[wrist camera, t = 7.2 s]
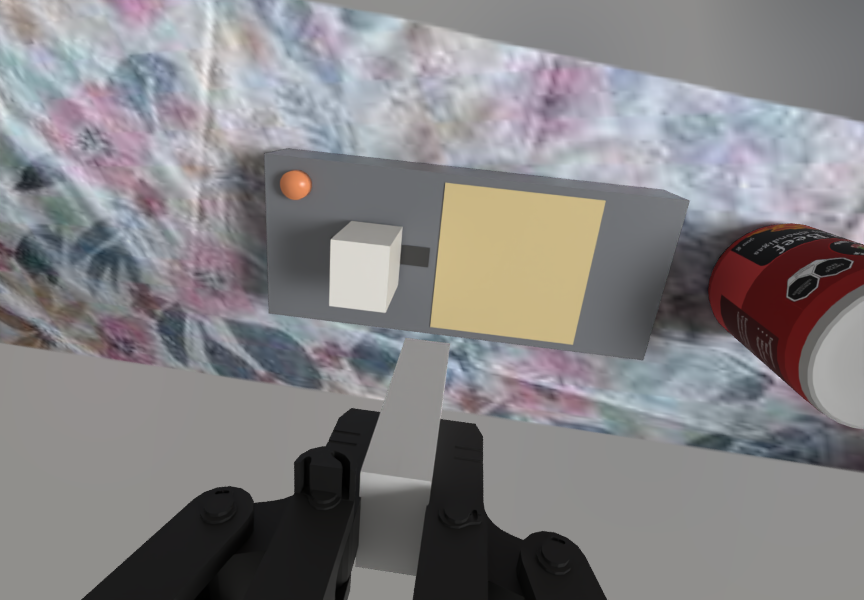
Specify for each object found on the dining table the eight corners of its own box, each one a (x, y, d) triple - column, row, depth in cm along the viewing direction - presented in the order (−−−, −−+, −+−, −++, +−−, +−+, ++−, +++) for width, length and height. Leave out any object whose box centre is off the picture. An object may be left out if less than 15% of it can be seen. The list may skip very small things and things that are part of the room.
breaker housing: (663, 189, 31) (695, 203, 26) (625, 333, 34) (647, 366, 30) (289, 148, 32) (258, 154, 27) (290, 291, 35) (263, 318, 31)
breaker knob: (402, 226, 28) (390, 246, 24) (398, 285, 29) (385, 312, 25) (351, 220, 28) (330, 239, 24) (349, 279, 30) (328, 305, 26)
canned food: (851, 229, 30) (1041, 288, 20) (799, 342, 33) (942, 444, 23) (728, 211, 31) (854, 261, 20) (687, 325, 34) (780, 419, 23)
